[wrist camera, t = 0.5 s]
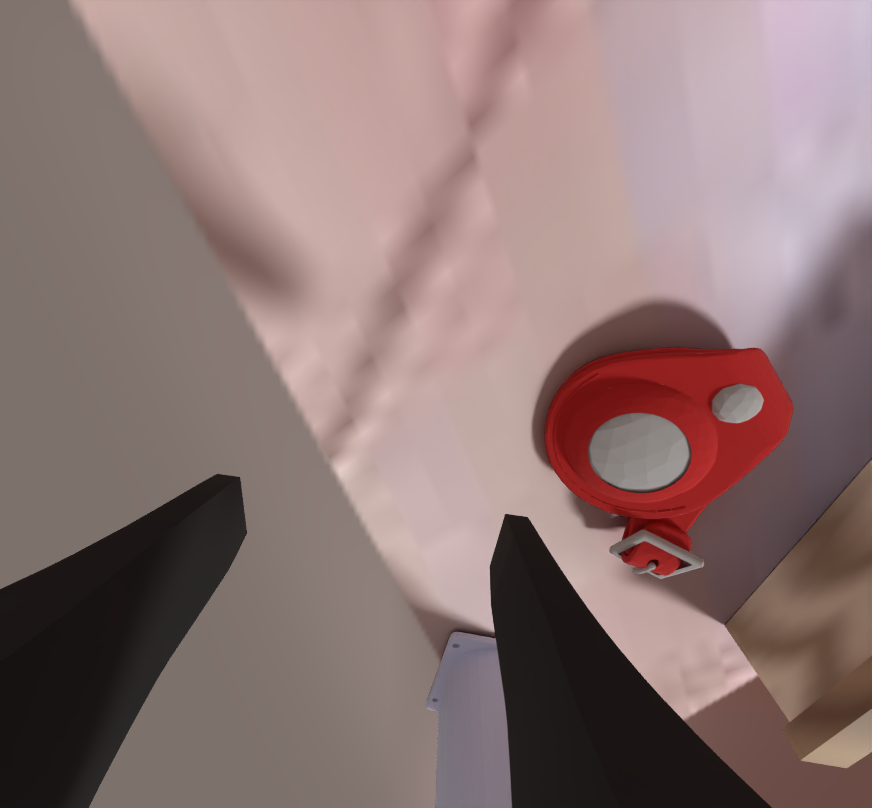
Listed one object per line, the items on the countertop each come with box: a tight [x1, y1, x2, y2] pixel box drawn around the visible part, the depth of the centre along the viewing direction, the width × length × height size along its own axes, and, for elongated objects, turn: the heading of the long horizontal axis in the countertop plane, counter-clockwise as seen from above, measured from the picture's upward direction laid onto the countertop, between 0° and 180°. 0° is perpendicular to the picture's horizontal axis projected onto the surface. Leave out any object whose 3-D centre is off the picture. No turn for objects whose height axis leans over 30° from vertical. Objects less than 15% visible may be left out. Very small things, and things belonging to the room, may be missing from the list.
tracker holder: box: [545, 347, 793, 579], centre depth 17 cm, size 12×4×10 cm
